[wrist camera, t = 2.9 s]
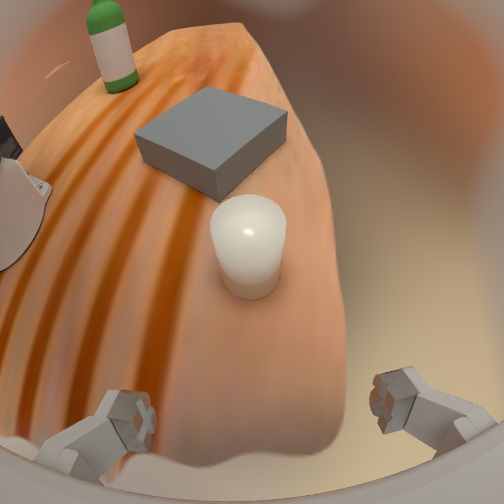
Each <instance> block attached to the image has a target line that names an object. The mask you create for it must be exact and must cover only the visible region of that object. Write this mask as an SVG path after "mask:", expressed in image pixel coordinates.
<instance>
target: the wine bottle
mask: <svg viewBox="0 0 504 504" xmlns="http://www.w3.org/2000/svg"><path fill="white" fill-rule="evenodd" d="M93 3H94V5H93V8H92V9H91V10H90V12H89V14H88V16H87V27H88V31H89V35H90V39H91V42H92V46H93V49H94V53H95V56H96V59H97V62H98V65H99V69H100V72H101V75H102V78H103V81H104V84H105V87H106V89H107V90H108V92H111V93H116V92H120V91H123V90H126V89H128V88H130V87H132V86H133V85H134V84H135V83H136V82H137V80H138V74H137V70H136V65H135V61H134V57H133V53H132V49H131V46H130V41H129V37H128V33H127V28H126V24H125V20H124V15H123V11H122V8H121V7H120V6H119V5H118V4H117V3H115V2H113V1H110V0H93Z"/></svg>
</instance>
